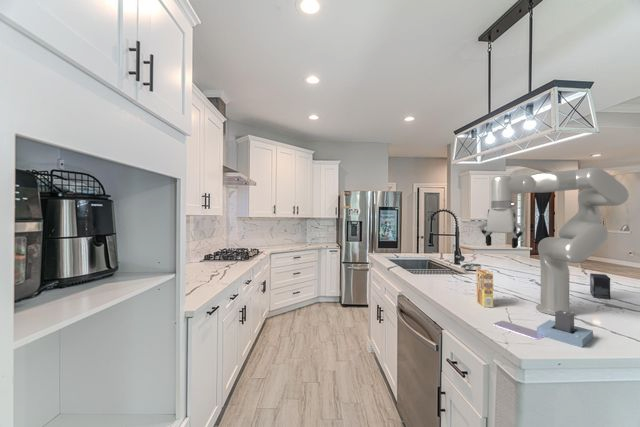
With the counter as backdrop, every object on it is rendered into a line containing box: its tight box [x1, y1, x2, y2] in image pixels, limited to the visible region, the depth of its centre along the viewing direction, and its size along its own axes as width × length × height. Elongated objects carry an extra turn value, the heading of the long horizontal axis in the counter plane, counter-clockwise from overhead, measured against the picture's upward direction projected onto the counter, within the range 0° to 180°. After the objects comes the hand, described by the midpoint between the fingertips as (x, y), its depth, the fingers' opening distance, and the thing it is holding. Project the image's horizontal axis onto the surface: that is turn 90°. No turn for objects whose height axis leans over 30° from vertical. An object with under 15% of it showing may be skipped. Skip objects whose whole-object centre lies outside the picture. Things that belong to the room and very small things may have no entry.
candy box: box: [476, 268, 494, 308], centre depth 133 cm, size 9×4×15 cm, turn 171°
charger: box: [554, 310, 575, 334], centre depth 99 cm, size 4×4×8 cm
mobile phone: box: [492, 320, 546, 341], centre depth 105 cm, size 8×1×15 cm
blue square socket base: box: [536, 319, 594, 348], centre depth 99 cm, size 12×12×3 cm
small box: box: [589, 272, 611, 300], centre depth 146 cm, size 11×6×10 cm, turn 144°
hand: (501, 246), depth 122 cm, fingers open, 9 cm apart
